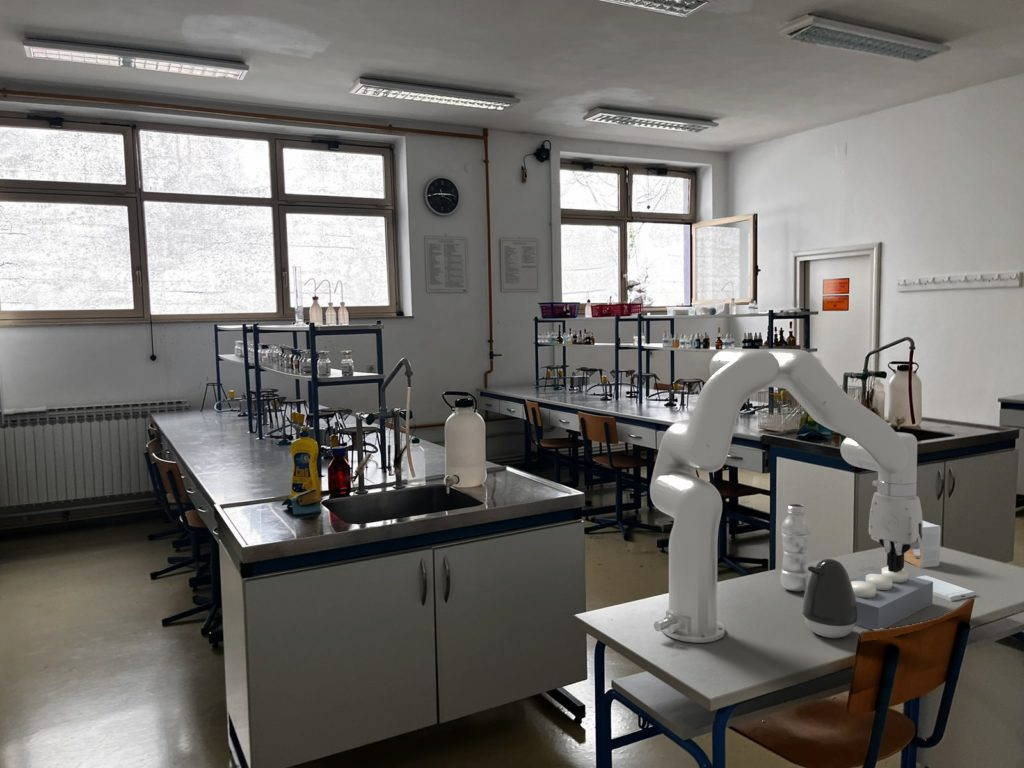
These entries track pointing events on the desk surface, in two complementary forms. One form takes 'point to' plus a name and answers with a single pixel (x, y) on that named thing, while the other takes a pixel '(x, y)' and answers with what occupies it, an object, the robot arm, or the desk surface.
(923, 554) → the small box
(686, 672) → the desk surface
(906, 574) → the knob far
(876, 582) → the knob mid
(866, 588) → the knob near
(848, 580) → the dark grey penguin figure
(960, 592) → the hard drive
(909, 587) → the housing
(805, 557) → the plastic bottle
